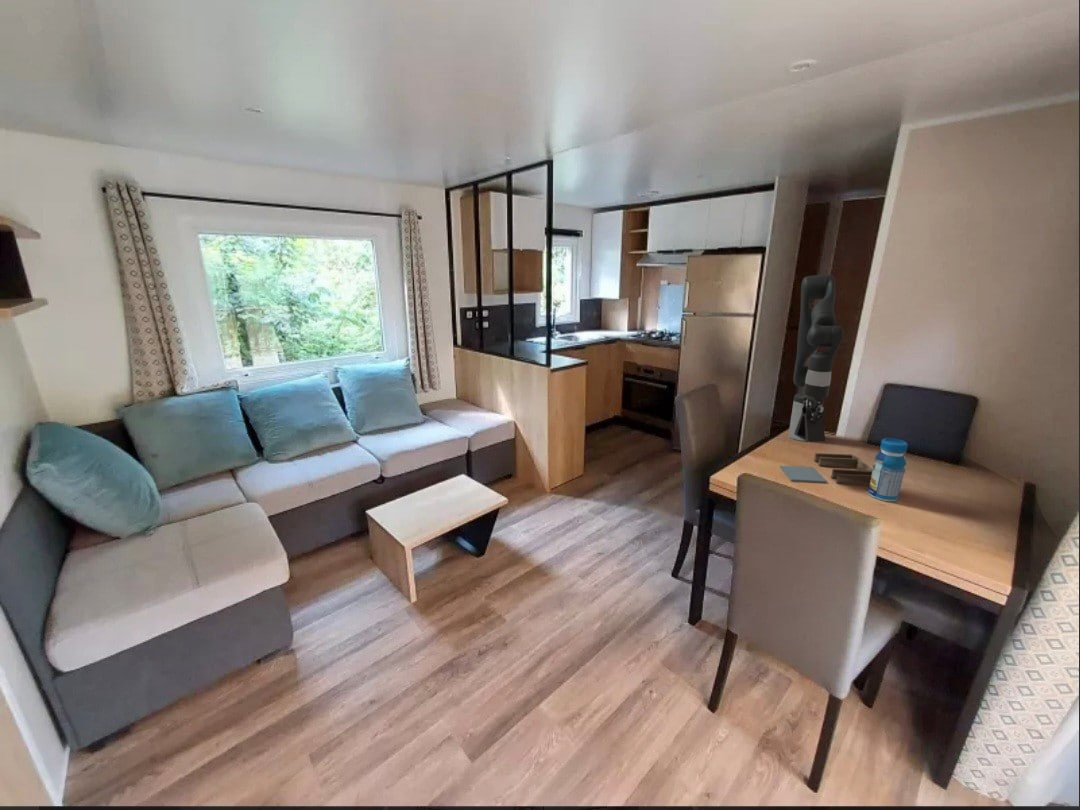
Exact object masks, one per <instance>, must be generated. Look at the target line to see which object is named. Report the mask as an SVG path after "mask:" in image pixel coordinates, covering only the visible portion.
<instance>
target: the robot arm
mask: <svg viewBox="0 0 1080 810" xmlns="http://www.w3.org/2000/svg"><path fill="white" fill-rule="evenodd" d="M817 300H820V301H819V302H818V303H817V304H815V306H814V307H812V304H811V301H817ZM835 302H836V278H835V276H834V275H832V274H817V275H808V276H805V277H804V278H802V281H801V286H800V312H799V313H800V316H799V324H798V331H797V345H796V347H797V348H796V351H797V352H796V359H795V364H794V371H793V376H792V377H793V378H792V379H793V380H792V381H793V384H794V385H795V386H797V387H803V392H799V393H798V392H797V393H796V394H795V395H794V397H793V403H792V411H791V416H790V423H789V429H788V437H789V438H790V439H792V440H796V441H802V442H804V441H805V440H804V439H802V438H800V437H798V436H796V435H795V434H794V433H795V430H796V428H797V425H798V422H799V419H800V417H801V414H802V408H803V406H810V414H811V418H810V420H811V421H812V425H814V426H816V424H817V421H821V420H822V417H823V418H824V415H825V412H826V409H827V407H826V406H825V407H824V405H823V404H824V403H823V399H824V398H828V396H829V392H830V387H831V381H832V369H833V365H834V360H835V357H836V355H837V351H838V349H839V348H840V346H841V344H842V342H843V341H844V337H845V331H844V329H843V327H841V326H839V325H836V315H835ZM820 347H826V349H825V350H823V351H819V352H817V350H818V349H820ZM808 359H809V362H808V365H805V364H806V362H807V360H808ZM812 411H815V412H812ZM813 415H814V416H813Z"/></svg>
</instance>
